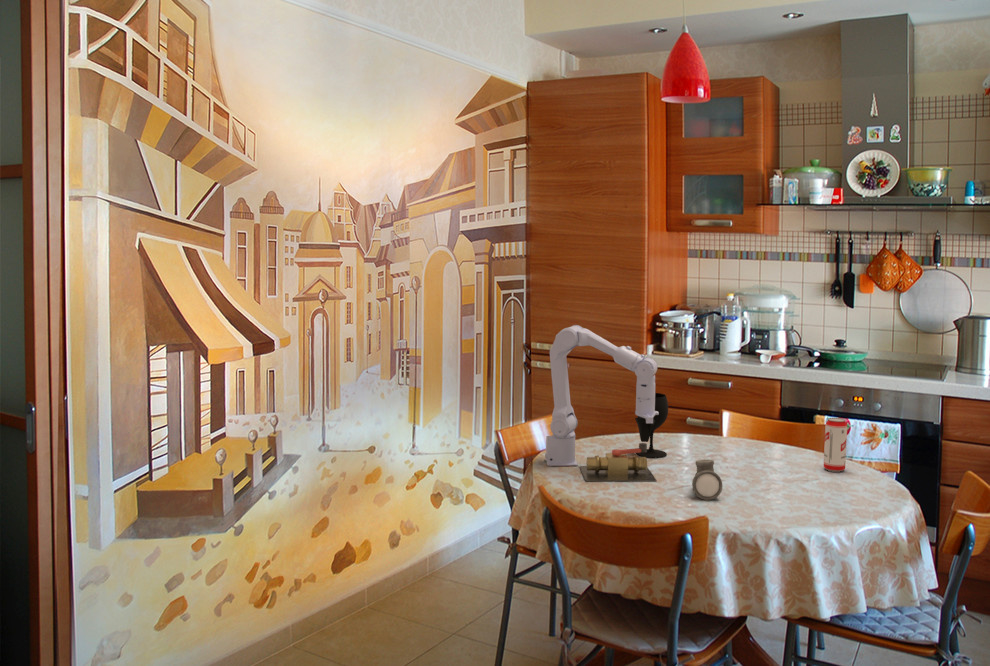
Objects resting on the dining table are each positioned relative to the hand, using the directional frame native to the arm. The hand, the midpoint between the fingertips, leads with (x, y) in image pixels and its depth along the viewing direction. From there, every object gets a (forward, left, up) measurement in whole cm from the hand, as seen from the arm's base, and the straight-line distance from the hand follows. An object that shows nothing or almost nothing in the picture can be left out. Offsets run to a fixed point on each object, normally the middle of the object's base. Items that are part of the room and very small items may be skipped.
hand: (644, 441), depth 261 cm
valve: (-9, -2, -10) cm, 13 cm away
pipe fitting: (+13, -23, -10) cm, 28 cm away
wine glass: (+6, +20, -10) cm, 23 cm away
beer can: (+59, 0, -10) cm, 60 cm away
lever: (-5, 0, -4) cm, 6 cm away
